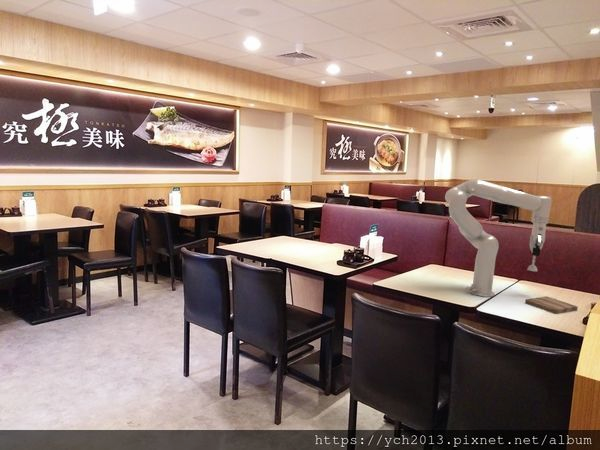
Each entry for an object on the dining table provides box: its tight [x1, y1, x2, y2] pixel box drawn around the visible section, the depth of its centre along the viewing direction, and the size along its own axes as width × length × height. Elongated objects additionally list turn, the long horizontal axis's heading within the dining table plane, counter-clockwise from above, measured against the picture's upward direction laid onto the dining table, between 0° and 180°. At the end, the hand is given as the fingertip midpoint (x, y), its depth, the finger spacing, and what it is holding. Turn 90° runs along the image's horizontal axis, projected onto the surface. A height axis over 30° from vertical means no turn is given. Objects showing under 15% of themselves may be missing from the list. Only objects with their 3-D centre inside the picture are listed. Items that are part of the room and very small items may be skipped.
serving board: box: [524, 295, 579, 315], centre depth 209 cm, size 16×16×2 cm
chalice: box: [526, 234, 544, 272], centre depth 222 cm, size 7×7×18 cm
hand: (534, 254), depth 222 cm, fingers closed on chalice, 5 cm apart
